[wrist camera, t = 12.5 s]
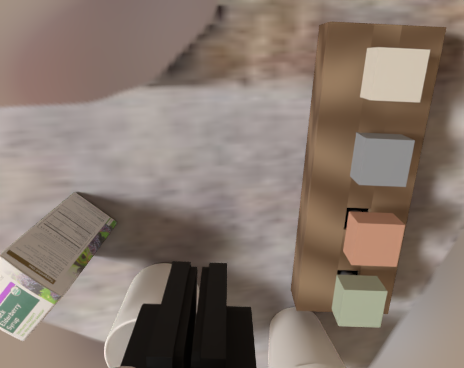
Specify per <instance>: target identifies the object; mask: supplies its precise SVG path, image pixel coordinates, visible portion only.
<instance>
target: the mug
mask: <svg viewBox="0 0 464 368" xmlns="http://www.w3.org/2000/svg"><path fill="white" fill-rule="evenodd" d="M171 266H172V264H169V263H159V264H154V265H151V266H148V267H146V268H144V269H143V270H141V271H140V272H139V273H138V274H137V275H136V277H135V278H134V279H133V281H132V283H131V285H130V287H129V289H128V291H127V294H126V296H125V298H124V301H123V303H122V305H121V307H120V310H119V312H118V314H117V317H116V319H115V321H114V324H113V326H112V328H111V330H110V333H109V335H108V337H107V340H106V343H105V347H104V356H105V360H106V363H107V365H108V367H109V368H115V367H120V365H121V362H122V360H123V357H124V354H125V351H126V348H127V345H128V343H129V340H130V337H131V334H132V331H133V328H134V326H135V323H136V320H137V317H138V314H139V311H140V309H141V306H142V304H144V303H145V304H161V302H162V298H163V295H164V291H165V287H166V284H167V280H168V277H169V273H170V269H171ZM198 298H199V286H198V284H197V306H198ZM196 314H197V311H196Z"/></svg>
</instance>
